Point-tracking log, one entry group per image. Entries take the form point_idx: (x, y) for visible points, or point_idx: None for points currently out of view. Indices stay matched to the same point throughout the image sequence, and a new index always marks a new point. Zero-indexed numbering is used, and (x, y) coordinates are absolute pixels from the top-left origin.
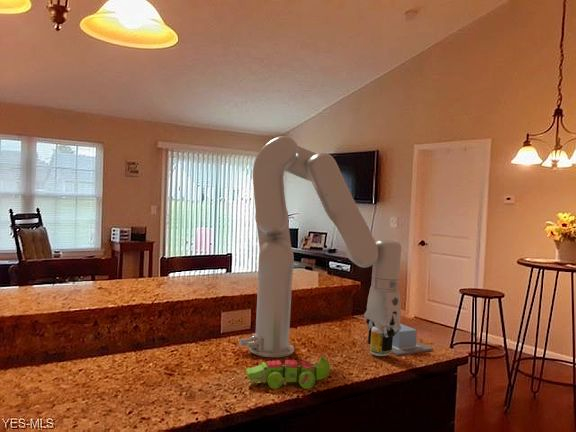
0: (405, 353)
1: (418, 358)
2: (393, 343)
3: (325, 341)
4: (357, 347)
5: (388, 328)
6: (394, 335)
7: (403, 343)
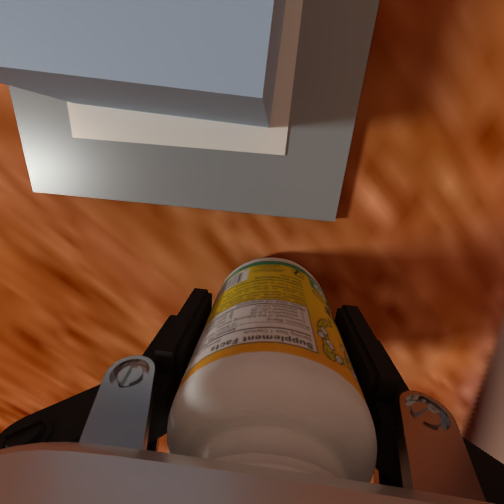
0: (348, 141)
1: (458, 116)
2: (203, 117)
3: (23, 369)
4: (132, 308)
5: (349, 448)
6: (447, 414)
7: (276, 62)
